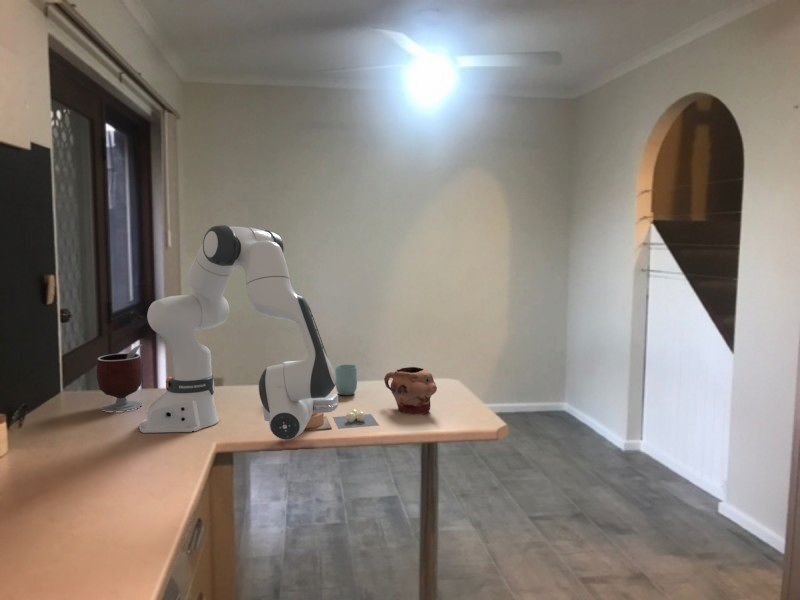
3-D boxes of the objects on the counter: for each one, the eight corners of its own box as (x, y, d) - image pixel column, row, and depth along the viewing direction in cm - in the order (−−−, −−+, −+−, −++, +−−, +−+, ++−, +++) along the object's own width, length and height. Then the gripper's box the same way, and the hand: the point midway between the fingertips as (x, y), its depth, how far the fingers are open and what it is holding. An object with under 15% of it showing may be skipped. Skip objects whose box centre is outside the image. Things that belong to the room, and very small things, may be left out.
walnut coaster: (289, 434, 179) (289, 431, 179) (286, 422, 190) (286, 419, 190) (331, 431, 182) (331, 427, 181) (326, 419, 193) (326, 416, 193)
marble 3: (357, 423, 187) (356, 413, 187) (355, 420, 190) (355, 410, 189) (366, 422, 188) (366, 412, 187) (365, 419, 191) (364, 410, 190)
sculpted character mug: (373, 411, 202) (372, 368, 200) (393, 402, 212) (392, 362, 210) (427, 420, 191) (427, 375, 190) (446, 411, 202) (446, 368, 200)
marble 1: (350, 421, 189) (350, 411, 189) (348, 418, 192) (348, 408, 192) (360, 420, 190) (360, 410, 190) (358, 417, 193) (358, 408, 192)
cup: (359, 391, 227) (358, 364, 226) (355, 397, 220) (355, 369, 219) (337, 391, 228) (337, 364, 227) (333, 396, 220) (333, 368, 219)
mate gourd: (115, 415, 199) (112, 353, 197) (89, 409, 206) (86, 349, 204) (157, 404, 212) (154, 345, 210) (131, 399, 219) (128, 342, 217)
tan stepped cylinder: (294, 429, 180) (293, 384, 179) (292, 420, 189) (290, 377, 188) (325, 426, 183) (324, 382, 181) (321, 418, 191) (320, 376, 190)
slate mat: (338, 430, 182) (338, 428, 182) (332, 418, 194) (332, 417, 194) (379, 427, 185) (379, 425, 185) (371, 416, 197) (371, 414, 196)
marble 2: (346, 424, 186) (346, 414, 186) (345, 421, 189) (344, 411, 189) (356, 423, 187) (356, 413, 187) (354, 420, 190) (354, 410, 189)
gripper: (335, 396, 164) (341, 384, 178) (257, 397, 164) (269, 384, 178) (336, 419, 165) (341, 405, 178) (258, 420, 165) (269, 406, 179)
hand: (304, 395), depth 178 cm, fingers open, 8 cm apart
